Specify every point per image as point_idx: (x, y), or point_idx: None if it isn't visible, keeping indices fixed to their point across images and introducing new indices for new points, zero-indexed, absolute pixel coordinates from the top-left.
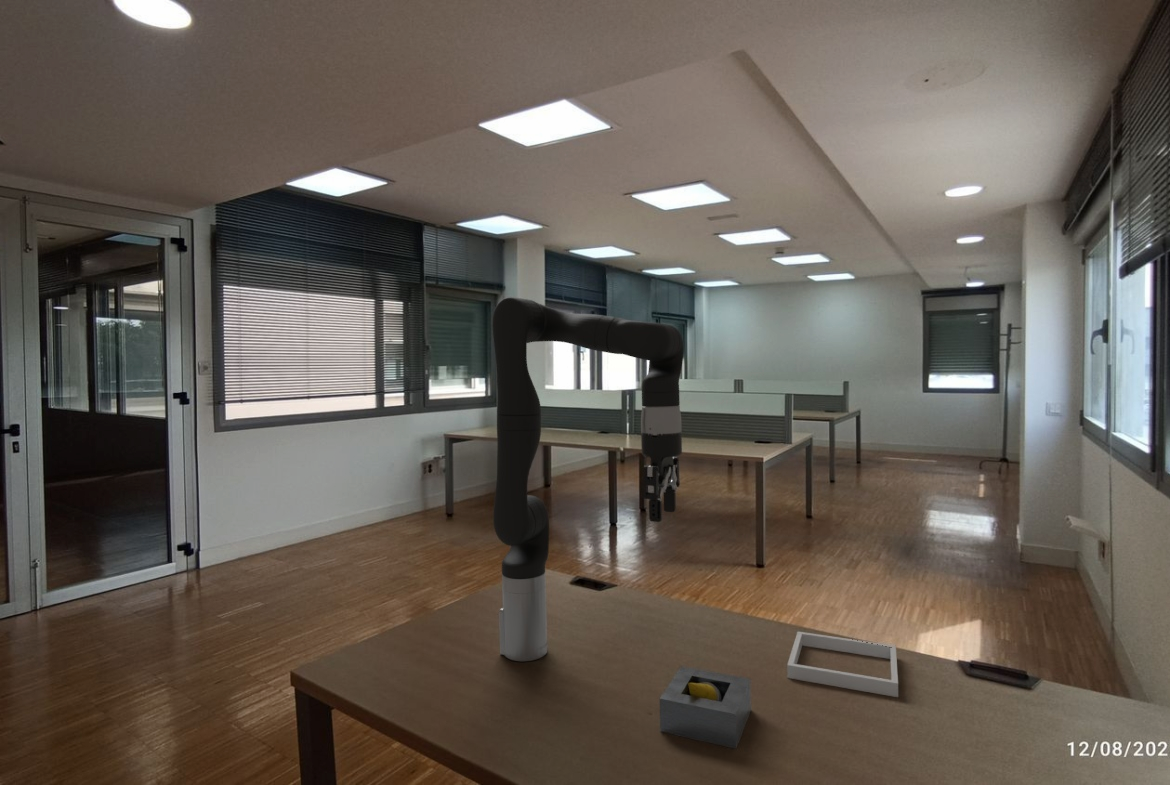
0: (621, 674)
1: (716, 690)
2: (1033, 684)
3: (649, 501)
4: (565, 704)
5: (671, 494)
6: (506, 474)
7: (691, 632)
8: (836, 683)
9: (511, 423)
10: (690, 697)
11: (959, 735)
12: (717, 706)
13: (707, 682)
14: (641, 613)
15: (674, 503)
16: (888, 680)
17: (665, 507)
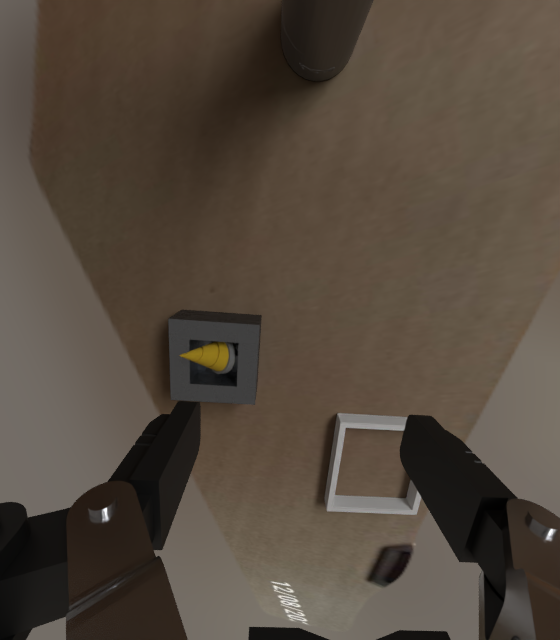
0: (291, 228)
1: (221, 372)
2: (377, 583)
3: (131, 480)
4: (191, 181)
5: (458, 533)
6: None
7: (444, 290)
8: (331, 457)
9: None
10: (185, 351)
11: (273, 530)
12: (178, 381)
13: (228, 362)
14: (513, 194)
15: (420, 494)
16: (330, 504)
17: (418, 430)
